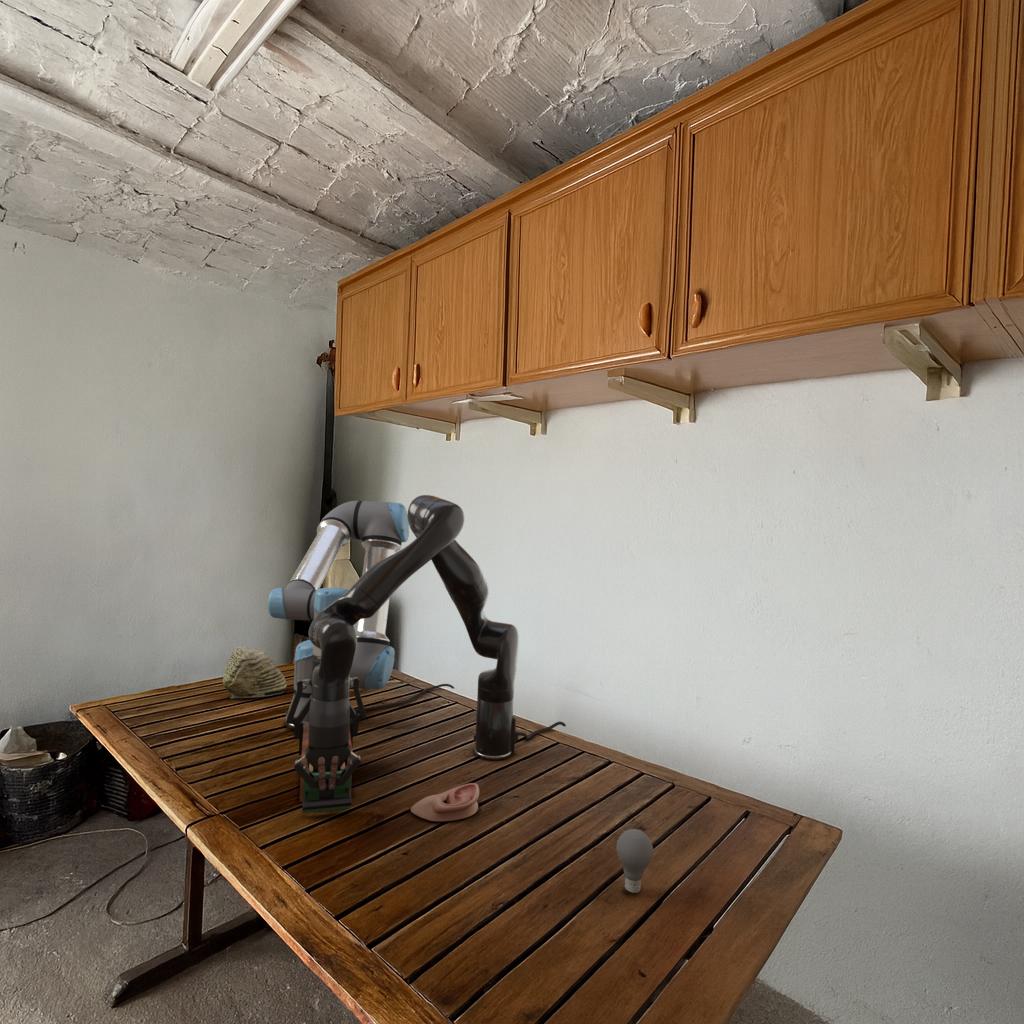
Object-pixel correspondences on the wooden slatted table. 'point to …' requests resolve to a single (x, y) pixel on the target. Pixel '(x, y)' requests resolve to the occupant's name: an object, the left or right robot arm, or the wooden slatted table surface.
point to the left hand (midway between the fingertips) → (325, 751)
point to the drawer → (337, 803)
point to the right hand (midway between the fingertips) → (326, 806)
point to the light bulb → (634, 857)
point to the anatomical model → (449, 804)
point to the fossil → (252, 674)
